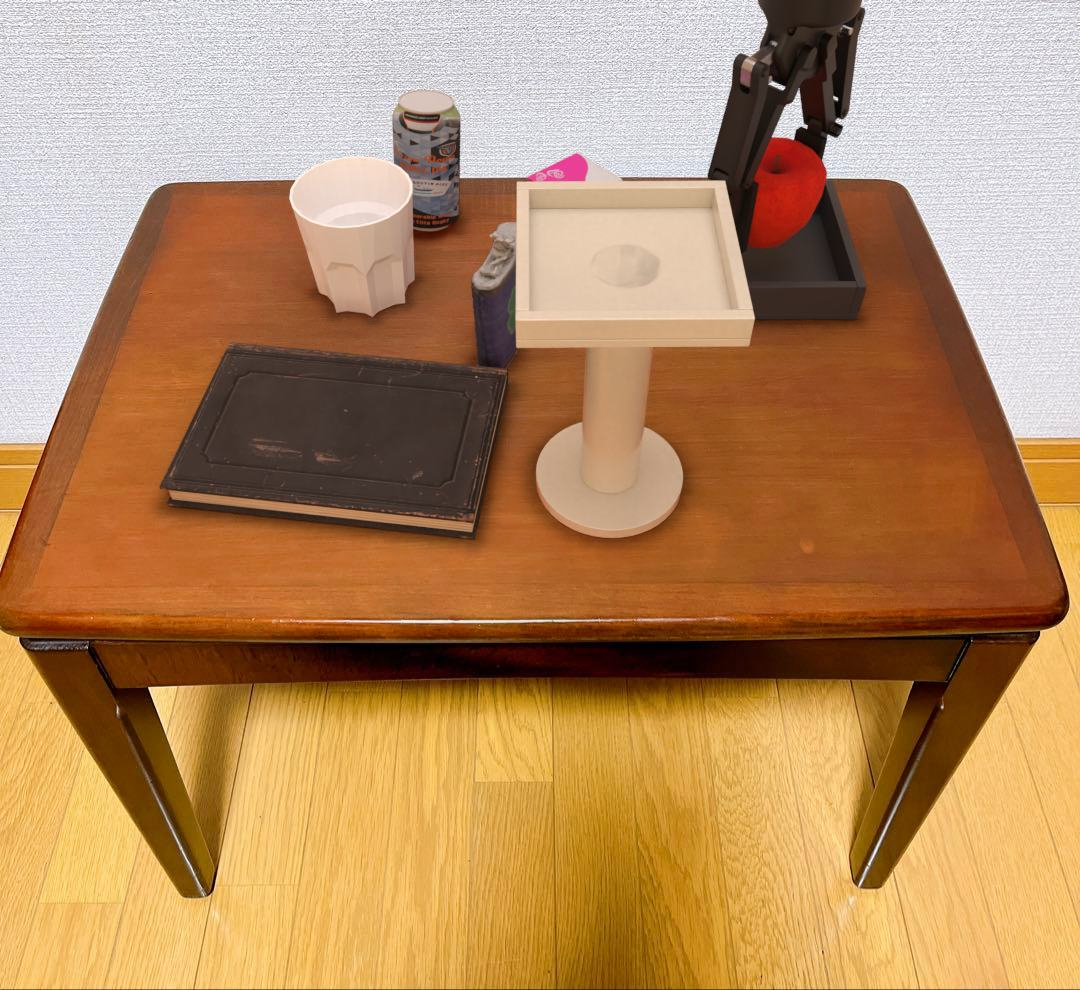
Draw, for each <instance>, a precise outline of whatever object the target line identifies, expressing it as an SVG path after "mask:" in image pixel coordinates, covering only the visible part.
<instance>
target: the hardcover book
mask: <svg viewBox="0 0 1080 990" xmlns="http://www.w3.org/2000/svg"><path fill="white" fill-rule="evenodd" d="M508 390H509V370H508V367H507V368H497V367H486V366H478V365H474V364H465V363H454V362H444V361H443V362H442V361H432V360H422V359H412V358H403V357H402V358H401V357H390V356H380V355H370V354H359V353H351V352H349V353H348V352H338V351H328V350H327V351H326V350H318V349H306V348H298V347H297V348H296V347H287V346H275V345H266V344H265V345H264V344H255V343H245V342H244V343H243V342H234V341H231V342H229V343H228V345H227V347H226V350H225V351H224V353H223V355H222V357H221V359H220V361H219V364H218V365H217V368H216V369H215V372H214V373H213V376H212V378H211V380H210V381H209V383H208V386H207V388H206V390H205V392H204V394H203V396H202V398H201V400H200V403H199V404H198V406H197V409H196V411H195V413H194V414H193V417H192V418H191V421H190V423H189V424H188V427H187V429H186V431H185V432H184V435H183V437H182V439H181V441H180V444H179V445H178V448H176V449H177V450H176V452H175V453H174V455H173V458H172V459H171V462H170V464H169V466H168V468H167V470H166V472H165V474H164V475H163V478H162V480H161V482H160V484H159V486H158V487H159V490H165V491H168V493H169V498H168V500H167V502H166V505H167V506H168V507H178V508H185V509H195V510H204V511H213V512H222V513H223V512H224V513H232V514H241V515H250V516H261V517H267V518H276V519H285V520H286V519H287V520H296V521H304V522H313V523H323V524H332V525H340V526H349V527H359V528H366V529H367V528H368V529H376V530H386V531H396V532H404V533H412V534H422V535H429V536H430V535H432V536H441V537H442V536H443V537H450V538H458V539H466V540H467V539H468V540H476V536H477V530H478V526H479V521H480V517H481V513H482V508H483V503H484V498H485V495H486V491H487V487H488V482H489V481H488V480H489V477H490V472H491V467H492V462H493V458H494V453H495V450H496V445H497V441H498V435H499V432H500V431H499V430H500V428H501V427H500V426H501V423H502V417H503V413H504V410H505V404H506V400H507V395H508Z"/></svg>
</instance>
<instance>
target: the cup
mask: <svg viewBox="0 0 1080 990" xmlns="http://www.w3.org/2000/svg"><path fill="white" fill-rule="evenodd" d="M289 202H290V204H291V208H292V211H293V214H294V216H295V220H296V223H297V227H298V229H299V232H300V236H301V238H302V241H303V244H304V245H303V246H304V247H305V250H306V251H305V252H306V254H307V257H308V260H309V264H310V267H311V270H312V273H313V277H314V281H315V283H316V284H315V285H316V287H317V289H318V293H319V294H321V295H324V296H326V297H327V298H328V299H329V300H330V301H331V302H332V303H333V306H334V309H335V313H336V314H338V313H343V312H349V313H350V312H351V313H359V314H364V315H368V316H369V317H371V318H374V317H375V316H376V315H377V314H378V313H379V312H381V311H383V310H385V309H387V308H390V307H392V306H395V305H402V304H406V296H405V295H406V292H407V289H408V286H409V285H410V284H411V283H413V282H414V281H415V279H416V278H415V277H416V276H415V275H416V274H415V250H414V249H415V248H414V245H415V244H414V229H413V193H412V181H411V179H410V177H409V175H408V174H407V173H406V172H405V171H404V170H403V169H402V168H401V167H399V166H397V165H395V164H394V162H391V161H389V160H384V159H382V158H379V157H373V156H363V155H361V156H360V155H359V156H344V157H339V158H334V159H329V160H326V161H324V162H320V163H318V164H315V165H313V166H312V167H310V168H309V169H307V170H305V171H304V172H302V173H301V174H300V175H299V176H298V177H297V178H296V179H295V181H294V182H293V184H292V185H291V187H290V190H289Z"/></svg>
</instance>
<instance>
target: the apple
mask: <svg viewBox="0 0 1080 990" xmlns="http://www.w3.org/2000/svg"><path fill="white" fill-rule="evenodd" d="M827 171H828V170H827V167H826V166H825V163H824V162H823V159H822V160H821V159H820V158H819V156H818V155H817V154H816V153H815V152H814V151H813V149H811V148H809V147H808V146H806V145H804V144H803V143H801V142H799V141H796V140H794V139H792V138H788V137H778V136H777V137H776V136H772V138H771V140H770V143H769V145H768V147H767V150H766V152H765V154H764V157H763V159H762V161H761V164H760V166H759V168H758V171H757V173H756V176H755V178H754V180H753V181H755V182H757V183H759V187H758V192H757V198H756V203H755V208H754V214H753V219H752V225H751V230H750V235H749V241H748V246H749V247H754V248H761V249H763V248H770V247H776V246H779V245H781V244H783V243H784V242H785V241H786V240H788V239H789V238H790V237H792V236H793V235H794V234H795V233H797V232H798V231H799V230H800V229H802V228H803V227H804V226H805V225H806V224H807V222H808V221H809V220H810V218H811V216H812V214H813V212H814V210H815V208H816V206H817V204H818V202H819V200H820V198H821V197H822V194H823V190H824V186H825V181H826V180H827V177H828V172H827Z"/></svg>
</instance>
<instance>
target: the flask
mask: <svg viewBox="0 0 1080 990" xmlns="http://www.w3.org/2000/svg"><path fill="white" fill-rule="evenodd" d="M489 238H493V243H492V245H491V247H490V251H489V253H488V255H487V256H486V259H485V261H484V262H482V265H481V266H480V267H479V268H478V270H476V271H475V272H474V274H473V275H472V277H471V281H470V289H471V297H472V309H473V320H474V332H475V333H474V334H475V340H476V343H475V345H476V349H477V350H476V351H477V353H476V355H477V356H476V357H477V366H486V367H497V368H507V369H508V368H509V366H510V365H511V362H512V361H513V360H514V359H515V357H516V354H517V353H518V351H519V349H520V348H516V326H515V304H516V221H512V222H511V221H509V222H507V221H506V222H504V223H499V224H498V226H497V227H496V229H495V231H493V232H492V233H490V234H489Z"/></svg>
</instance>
